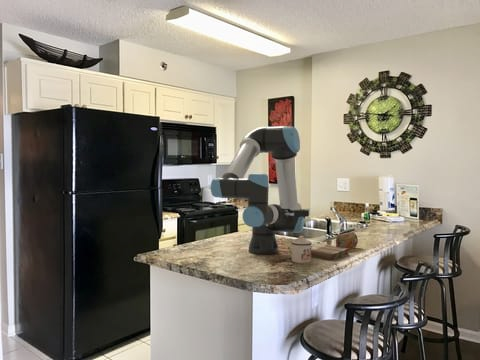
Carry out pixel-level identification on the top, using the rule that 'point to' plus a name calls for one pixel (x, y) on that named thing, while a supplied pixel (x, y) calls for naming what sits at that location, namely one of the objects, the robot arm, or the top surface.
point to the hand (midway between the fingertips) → (294, 210)
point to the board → (329, 252)
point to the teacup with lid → (301, 250)
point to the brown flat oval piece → (347, 240)
